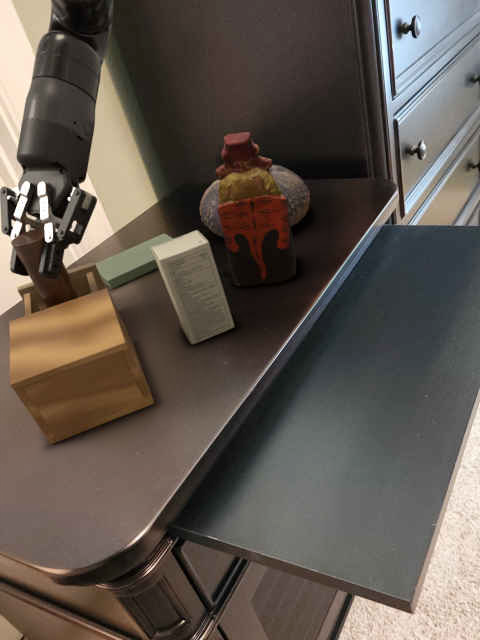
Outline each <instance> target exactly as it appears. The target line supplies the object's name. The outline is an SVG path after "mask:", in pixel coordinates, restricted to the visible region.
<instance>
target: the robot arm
mask: <svg viewBox="0 0 480 640" xmlns="http://www.w3.org/2000/svg"><path fill="white" fill-rule="evenodd" d="M50 2H51V3H50V6H51V7H50V20H49V25H48V29H47V32H46V33H44V34H43V35H42V37H41V38H40V40H39V41H38V43H37V48H36V53H35V58H34V63H33V70H32V76H31V82H30V86H29V88H28V92H27V95H26V98H25V103H24V109H23V114H22V120H21V126H20V132H19V137H18V138H19V139H18V144H17V149H16V155H15V156H16V160H17V162H18V164H19V165H20V166H21V168H22V174H21V177H20V179H19V181H18V184H17V186H16V187H13V188H9V187H8V186H1V188H0V224H1V233H2V234H4V235H6V236H7V237H10V238H11V239H12V240H13V239H14V238H15V237H17V236H18V235H20V234H22V233H25V232H27V225H29V228H28V231H31V230H35V229H45V240H46V242H48V244H46V243H43V249H42V255H41V261H40V267H39V274H40V276H43V277H46V278H49V279H55V280H56V279H58V277H59V274H60V272H61V268H62V262H63V261H64V255H65V250H67V249H68V248H69V247H70V245H73V244H74V245H75V246H76V245H79V244H80V243H81V242H82V240H83V237H84V235H85V233H86V230H87V228H88V225H89V222H90V221H91V218H92V215H93V213H94V210H95V208H96V206H97V203H98V198H97V197H96V195H94V194H92V193H90V192H88V191H86V190H85V189H82V188H80V184H81V185H82V184H83V183H84V182H85V181H86V179H87V174H88V168H89V162H90V157H91V151H92V144H93V138H94V132H95V125H96V106H97V101H98V95H99V89H100V84H101V75H102V74H101V72H102V66H103V63H104V60H105V57H106V54H107V51H108V47H109V44H110V39H111V35H112V29H113V25H114V24H113V22H114V0H50ZM27 215H29V216H31V217H33V218H34V219H33V218H30V217H28V216H27ZM12 221H14V225H13V223H12ZM74 222H76V224H75V227H74V228H73V224H74ZM72 229H73V231H72ZM56 230H57V231H56ZM12 240H11V241H12ZM11 250H12V251H11V256H10V262H9V265H10V266H9V269H10V272H11V273H13V274H15V275H19V276H23V277H30V276H29V275H28V273H27V271H26V269H25V267H24V266H23V264H22V262H21V260H20V258H19V257H18V255H17V253H16V251H15V250H14V248H13V247H12V248H11ZM63 263H64V262H63Z"/></svg>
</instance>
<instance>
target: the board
mask: <svg viewBox="0 0 480 640" xmlns="http://www.w3.org/2000/svg"><path fill="white" fill-rule="evenodd" d="M172 239H174V237H172V236H170V235H168V234H167V233H161V234H160V235H157V236H155V237H153V238H151V239H148V240H146V241H144V242H141V243H139V244H137V245H135V246H132V247H129V248H127V249H125V250H122V251H121V252H118V253H116V254H114V255H112V256H110V257H107V258H105V259H103V260H100V261H98V262H95V264H96V266H97V269H98V271H99V273H100V275H101V277H102V279H103V282H104V284H105V286H106V287H108V288H109V289H110V290H113V289H115V288H117V287H120V286H122V285H124V284H125V283H128V282H130V281H132V280H134V279H136V278H138V277H141V276H143V275H145V274H147V273H149V272H152V271H153V270H155V269H159V267H158V265H157V262H156V260H155V257H154V255H153V252H152V250H151V247H153V246H156V245H158V244H161V243H164V242H166V241H169V240H172Z"/></svg>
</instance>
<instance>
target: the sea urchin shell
mask: <svg viewBox="0 0 480 640" xmlns="http://www.w3.org/2000/svg"><path fill="white" fill-rule="evenodd" d="M269 171H270V172H271V174H272V175H273V177H274V179H275V181H276V183H277V185H278V187H279V188H280V189H281V192H282V195H283V196H285V197H287V199H288V205H289V217H290V227H293V226H295V225H297V224H299V222H300V221H301V220H302V219H303V218H304V217H305V216H306V215H307V212H308V211H309V207H310V202H311V198H310V195H311V194H310V193H311V192H310V191H309V188H308V186H307V185H306V183H305V182H304V181H303V178H301V177H300V176H299V175H298V174H296V173H295V172H294V171H291V170H290V169H287V168H286V167H284V166H282V165H278V164H272V167H271V168H270V169H269ZM219 183H220V179H219V178H218V179H217V180H215V181H213V183H211V185H209V187H208V188H207V189H206V190H205V192H204V193H203V196H202V198H201V199H200V202H199V204H200V205H199V215H200V221H201V222H202V223H203V224H204V226H205V227H207V228H208V229H209V230H210V231H211V232H213V233H214V234H216V235H217V236H219V237H221V238H223V239H224V234H223V231H222V227H221V223H220V219H219V215H218V211H217V207H218V206H219V194H218V190H219Z"/></svg>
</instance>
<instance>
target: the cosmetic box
mask: <svg viewBox="0 0 480 640" xmlns="http://www.w3.org/2000/svg"><path fill="white" fill-rule="evenodd" d="M151 250H152V252H153V255H154V257H155V260H156V262H157V265H158V270H159V273H160V276H161V277H162V280H163V282H164V285H165V288H166V290H167V293H168V295H169V299H170V300H171V302H172V306H173V308H174V310H175V313H176V316H177V318H178V321H179V324H180V326H181V328H182V331H183V333H184V335H185V336H186V338H187V339H188V341H189V343H190V344H191V345H195V344H198V343H200V342H203V341H205V340H207V339H209V338H212V337H214V336H217V335H221V334H222V333H225V332H226V331H229V330H231V329H233V328H235V323H234V320H233V319H234V318H233V317H232V313H231V310H230V307H229V304H228V300H227V297H226V294H225V290H224V287H223V284H222V281H221V277H220V274H219V271H218V268H217V264H216V261H215V258H214V254H213V252H212V248H211V244H210V242H209V240H208V239H207V238H206V237H205V236H204V235H203V234H202V233H201V232H200V231H199V230H198V229H197V230H193V231H191V232H188V233H185V234H181V235H180V236H178V237H173V239H172V240H169V241H166V242H164V243H161V244H158V245H156V246H153V247H151Z"/></svg>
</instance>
